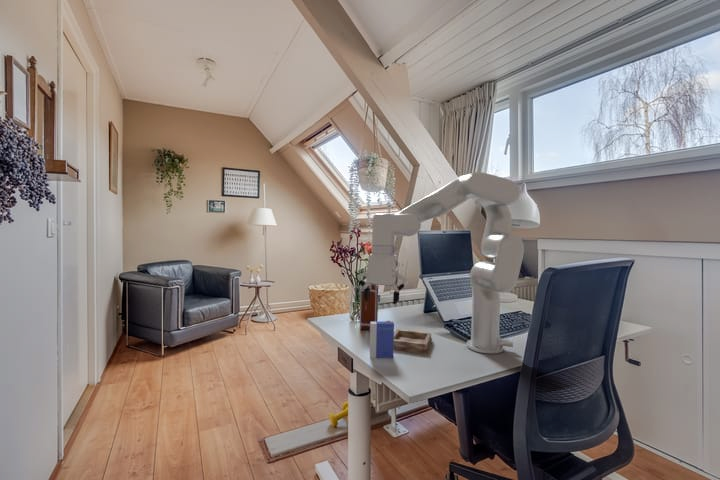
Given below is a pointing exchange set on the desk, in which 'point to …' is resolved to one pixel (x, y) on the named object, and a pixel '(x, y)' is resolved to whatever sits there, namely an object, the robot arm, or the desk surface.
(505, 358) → the desk surface
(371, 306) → the cine camera
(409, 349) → the wooden tray
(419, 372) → the desk surface
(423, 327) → the desk surface
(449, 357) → the desk surface
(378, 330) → the walkman
